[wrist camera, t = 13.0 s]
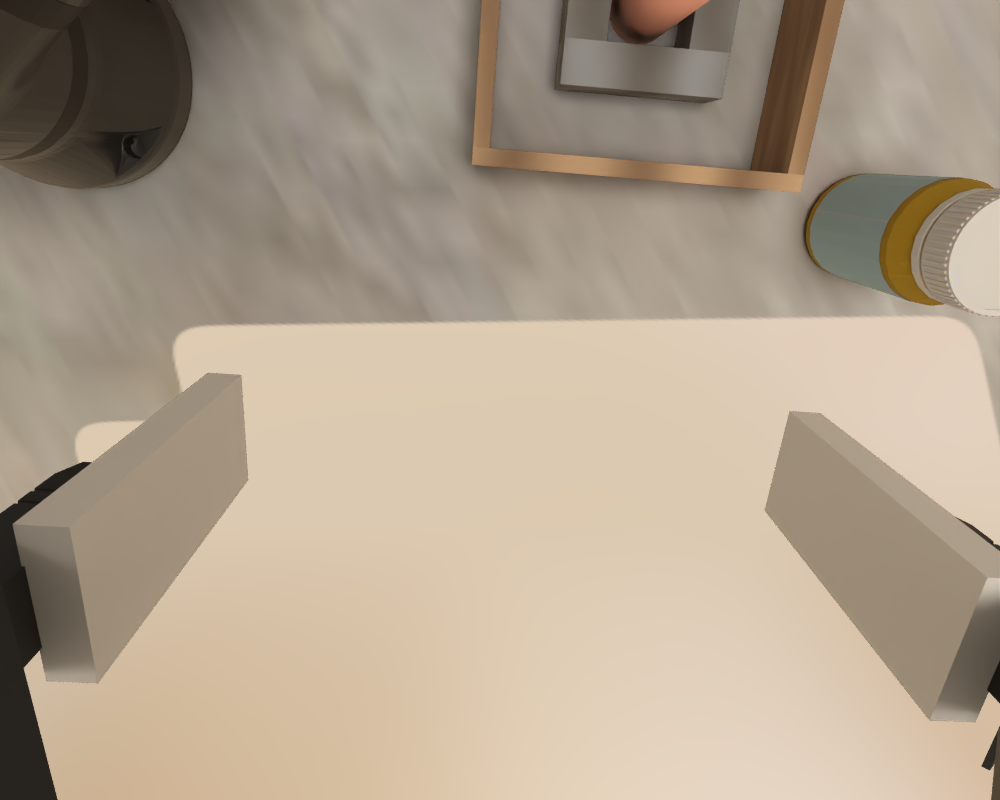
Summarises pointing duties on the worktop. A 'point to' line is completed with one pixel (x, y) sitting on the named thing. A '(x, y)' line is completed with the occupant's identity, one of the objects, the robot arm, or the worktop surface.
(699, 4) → the peg
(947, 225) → the bottle
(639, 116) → the worktop surface
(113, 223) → the worktop surface
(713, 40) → the crate
